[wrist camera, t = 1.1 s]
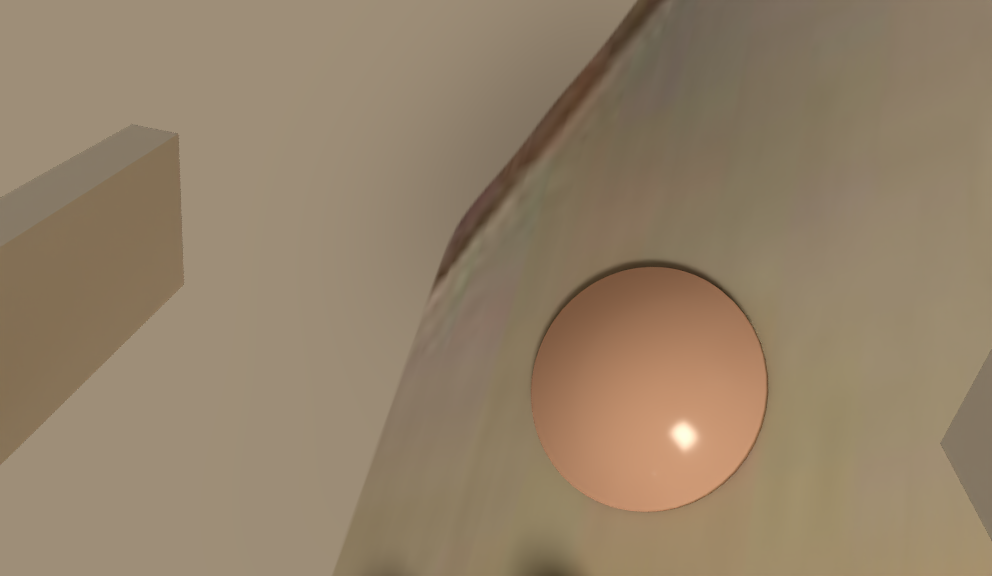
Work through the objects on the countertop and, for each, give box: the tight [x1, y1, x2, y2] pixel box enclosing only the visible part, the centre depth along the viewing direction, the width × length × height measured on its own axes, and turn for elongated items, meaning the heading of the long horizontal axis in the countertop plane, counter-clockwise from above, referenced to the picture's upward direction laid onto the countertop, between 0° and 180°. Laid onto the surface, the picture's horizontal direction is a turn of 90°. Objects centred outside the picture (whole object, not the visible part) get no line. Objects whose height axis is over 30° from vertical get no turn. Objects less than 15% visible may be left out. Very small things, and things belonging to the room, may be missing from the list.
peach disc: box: [531, 267, 768, 512], centre depth 40 cm, size 12×12×1 cm
